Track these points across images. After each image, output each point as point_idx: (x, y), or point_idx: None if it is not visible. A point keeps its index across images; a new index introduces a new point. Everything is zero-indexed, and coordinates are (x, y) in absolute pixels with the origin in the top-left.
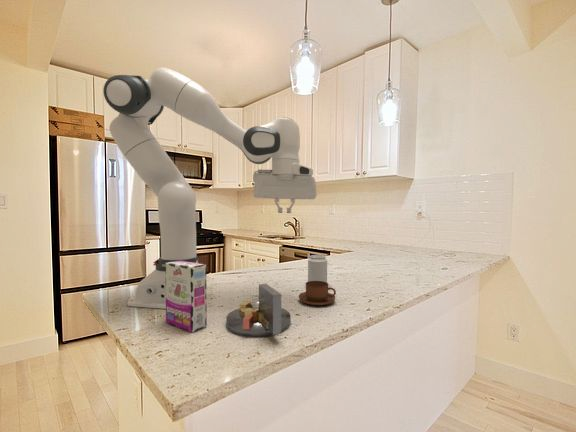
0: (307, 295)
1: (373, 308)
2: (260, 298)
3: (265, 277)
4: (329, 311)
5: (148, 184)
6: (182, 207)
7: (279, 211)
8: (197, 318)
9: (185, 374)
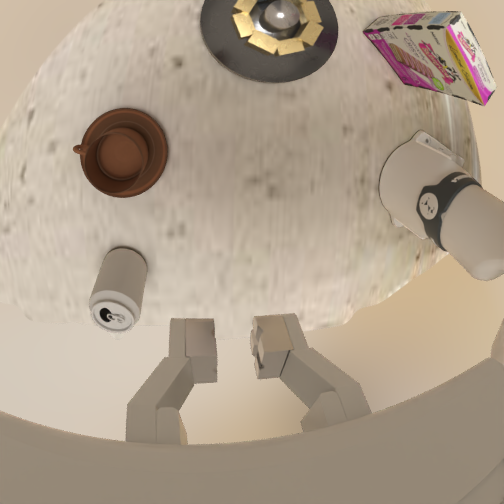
0: (144, 141)
1: (21, 125)
2: None
3: (247, 317)
4: (103, 88)
5: None
6: None
7: (282, 319)
8: (385, 19)
9: None
